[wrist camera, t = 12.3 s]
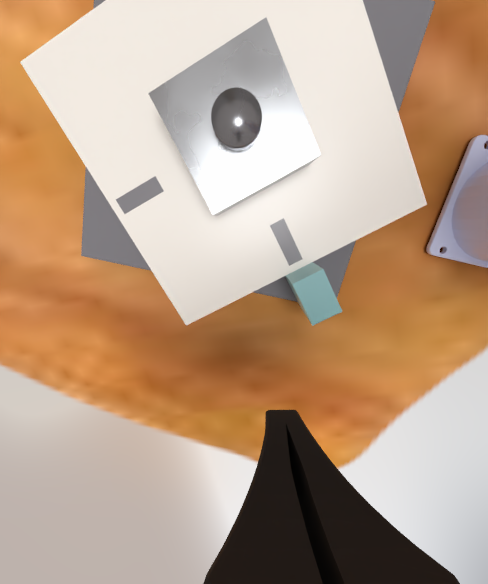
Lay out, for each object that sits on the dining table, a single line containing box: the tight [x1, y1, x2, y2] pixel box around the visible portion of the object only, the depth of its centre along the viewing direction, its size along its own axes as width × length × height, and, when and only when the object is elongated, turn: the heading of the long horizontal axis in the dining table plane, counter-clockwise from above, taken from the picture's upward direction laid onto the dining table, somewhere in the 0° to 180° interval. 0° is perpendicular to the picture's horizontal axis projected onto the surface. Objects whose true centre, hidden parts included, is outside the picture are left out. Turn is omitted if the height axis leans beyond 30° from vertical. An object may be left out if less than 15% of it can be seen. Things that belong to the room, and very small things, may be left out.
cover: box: [148, 17, 321, 216], centre depth 14 cm, size 6×6×4 cm
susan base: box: [81, 0, 435, 302], centre depth 17 cm, size 19×19×1 cm
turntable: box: [20, 0, 427, 326], centre depth 15 cm, size 18×21×4 cm
